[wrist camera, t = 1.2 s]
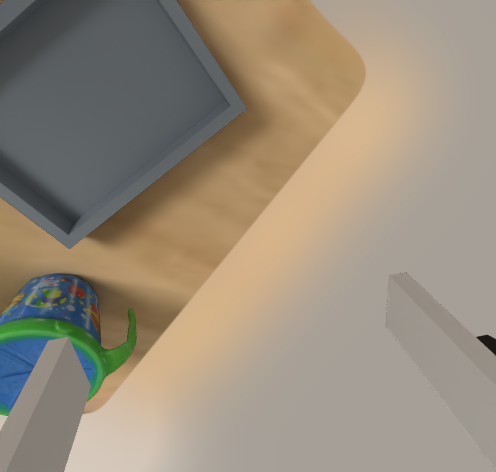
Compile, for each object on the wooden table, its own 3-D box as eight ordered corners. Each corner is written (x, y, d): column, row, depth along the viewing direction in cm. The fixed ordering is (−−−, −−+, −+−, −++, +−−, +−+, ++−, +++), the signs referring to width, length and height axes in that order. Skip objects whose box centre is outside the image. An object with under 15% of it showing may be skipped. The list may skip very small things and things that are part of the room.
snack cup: (-22, 338, 37) (-70, 430, 28) (-38, 254, 32) (-101, 334, 24) (134, 333, 42) (132, 410, 34) (140, 260, 37) (140, 328, 29)
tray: (-92, 101, 26) (-117, 109, 23) (115, -86, 24) (112, -99, 21) (74, 233, 34) (69, 249, 31) (238, 102, 32) (247, 108, 29)
